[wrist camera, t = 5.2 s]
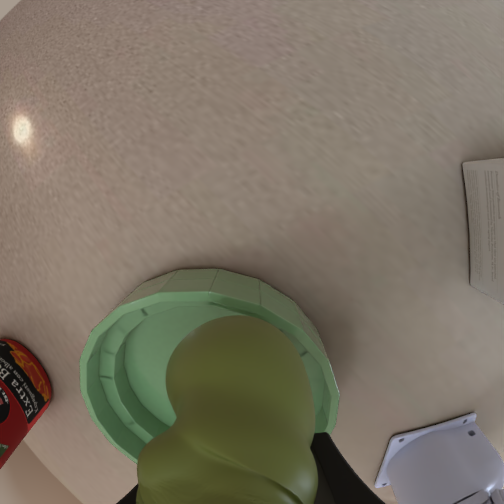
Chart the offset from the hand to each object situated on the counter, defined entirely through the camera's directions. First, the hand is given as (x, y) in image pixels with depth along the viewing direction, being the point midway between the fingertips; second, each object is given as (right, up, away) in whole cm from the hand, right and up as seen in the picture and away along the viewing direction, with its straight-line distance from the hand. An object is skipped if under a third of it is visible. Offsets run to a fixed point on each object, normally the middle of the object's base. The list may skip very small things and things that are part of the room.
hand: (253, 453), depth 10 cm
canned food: (-21, -4, +11) cm, 24 cm away
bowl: (-3, -1, +10) cm, 11 cm away
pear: (-1, +3, +4) cm, 5 cm away
